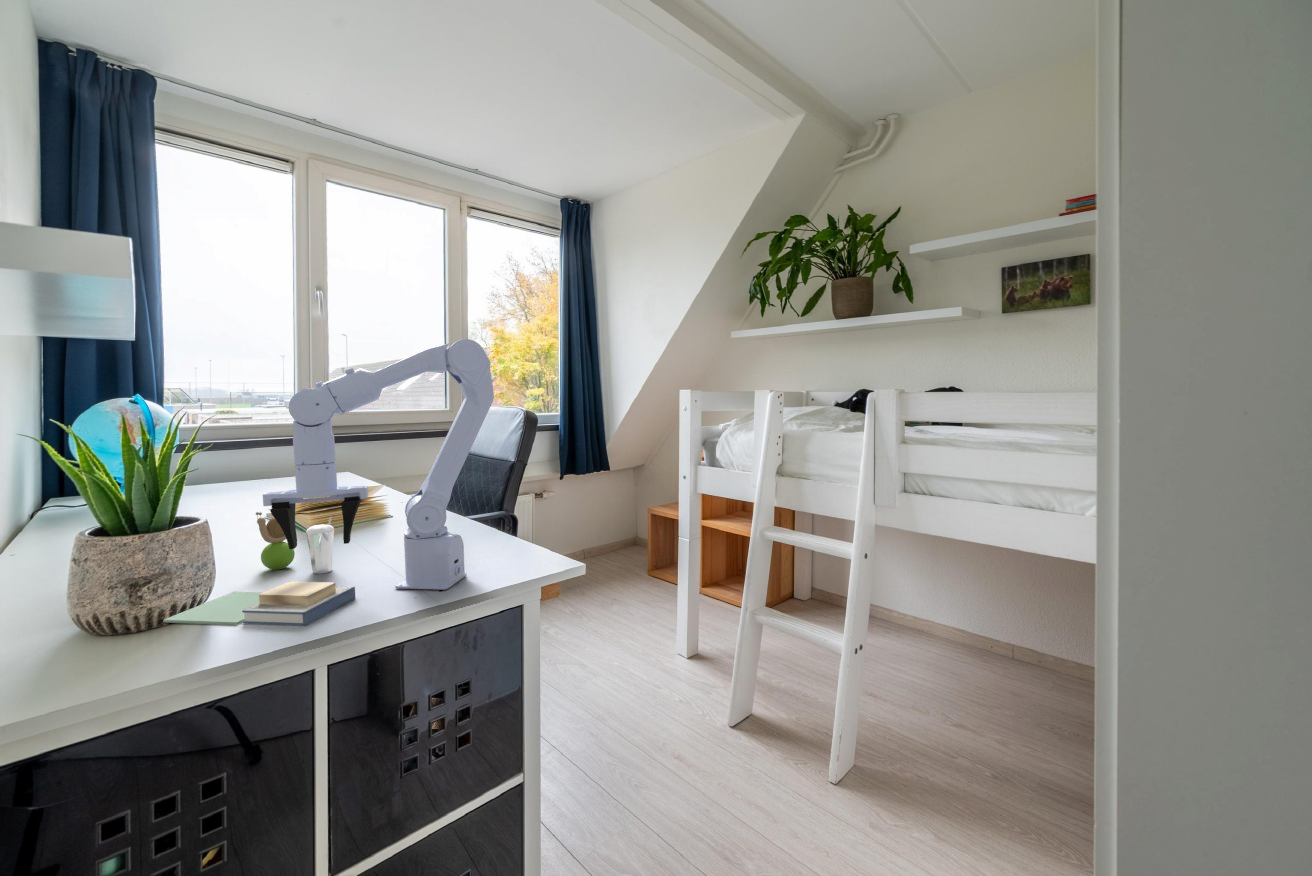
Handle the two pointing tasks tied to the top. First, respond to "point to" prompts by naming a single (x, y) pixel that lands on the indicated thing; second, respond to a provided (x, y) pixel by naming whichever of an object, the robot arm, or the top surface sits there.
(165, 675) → the top surface
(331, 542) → the milkshake
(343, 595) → the notebook
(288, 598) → the tile
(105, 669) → the top surface
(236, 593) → the mat
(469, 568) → the top surface
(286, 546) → the snail figurine
